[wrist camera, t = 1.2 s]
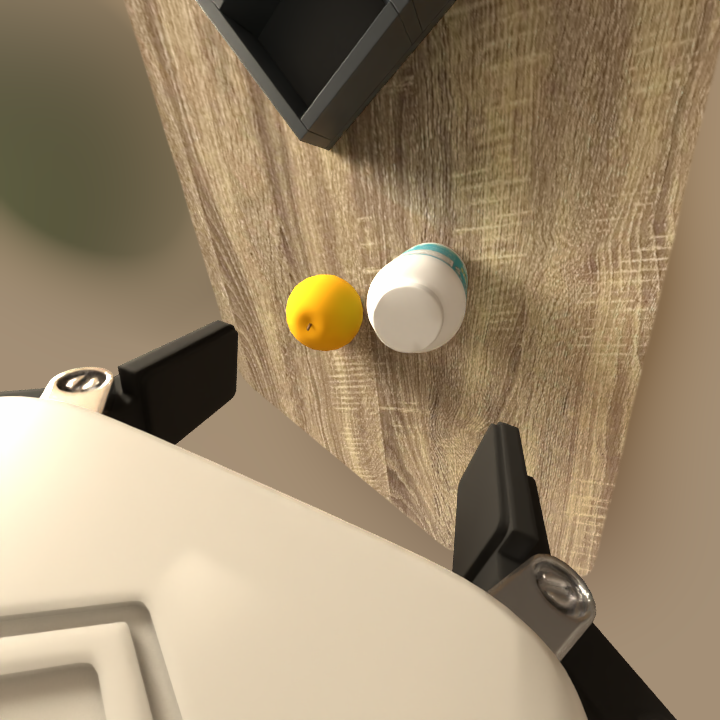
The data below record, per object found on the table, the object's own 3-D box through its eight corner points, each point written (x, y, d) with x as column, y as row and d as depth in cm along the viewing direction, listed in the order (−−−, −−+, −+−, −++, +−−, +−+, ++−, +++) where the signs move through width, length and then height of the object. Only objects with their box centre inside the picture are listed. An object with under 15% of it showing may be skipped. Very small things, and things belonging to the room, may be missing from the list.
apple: (376, 279, 35) (354, 296, 29) (363, 344, 39) (341, 373, 32) (308, 261, 36) (272, 274, 30) (302, 326, 40) (269, 350, 34)
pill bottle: (451, 324, 35) (439, 387, 23) (385, 302, 36) (342, 351, 24) (481, 253, 31) (484, 285, 19) (406, 231, 32) (366, 249, 20)
